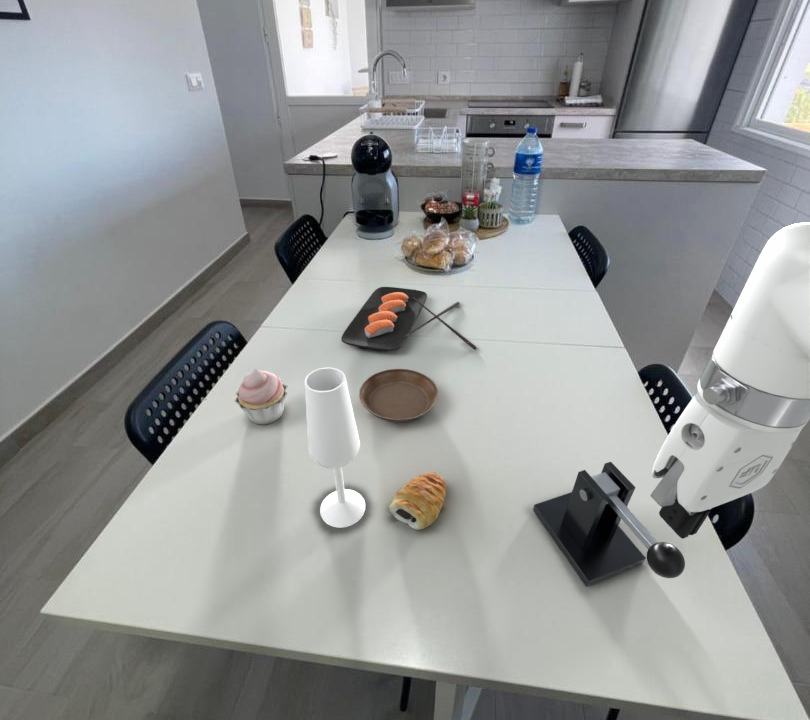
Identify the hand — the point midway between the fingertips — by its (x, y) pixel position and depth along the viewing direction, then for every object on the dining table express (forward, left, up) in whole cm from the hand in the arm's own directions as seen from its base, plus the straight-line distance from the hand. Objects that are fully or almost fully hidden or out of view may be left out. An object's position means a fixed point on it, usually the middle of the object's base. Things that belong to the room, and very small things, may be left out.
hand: (676, 524), depth 46 cm
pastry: (+24, +17, -15) cm, 33 cm away
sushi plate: (+69, -8, -15) cm, 71 cm away
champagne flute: (+29, +27, -15) cm, 42 cm away
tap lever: (+4, -1, -7) cm, 8 cm away
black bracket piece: (+9, -1, -15) cm, 18 cm away
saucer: (+46, +9, -15) cm, 49 cm away
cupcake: (+55, +32, -15) cm, 65 cm away
